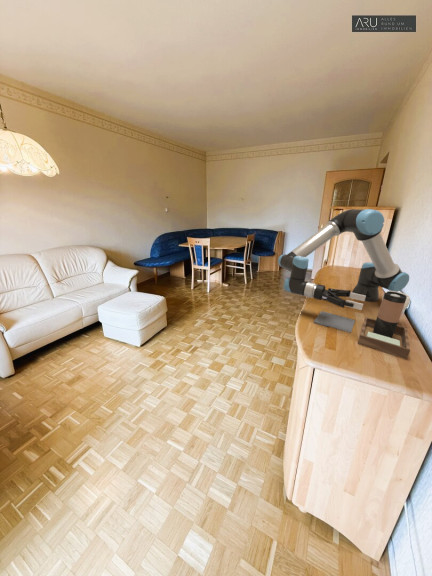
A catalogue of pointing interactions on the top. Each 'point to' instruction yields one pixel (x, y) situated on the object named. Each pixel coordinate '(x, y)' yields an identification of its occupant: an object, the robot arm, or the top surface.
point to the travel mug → (389, 313)
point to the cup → (405, 301)
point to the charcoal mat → (335, 321)
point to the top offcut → (383, 338)
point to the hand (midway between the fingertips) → (364, 302)
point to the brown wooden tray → (386, 346)
